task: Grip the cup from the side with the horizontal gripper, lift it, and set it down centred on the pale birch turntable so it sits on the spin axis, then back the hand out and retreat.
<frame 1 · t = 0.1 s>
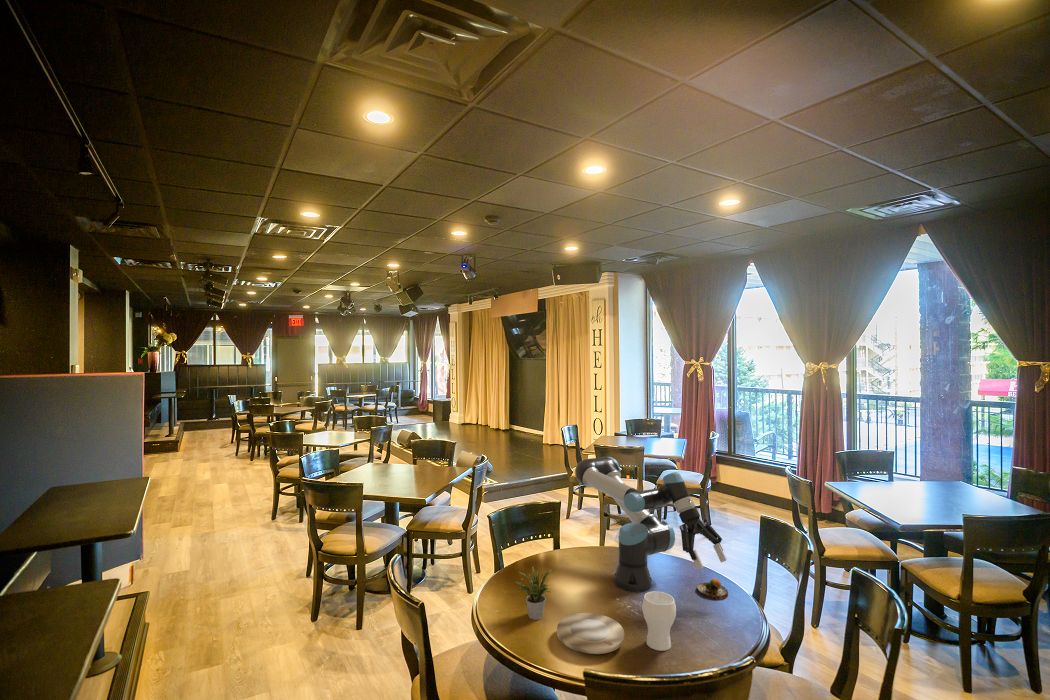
hand: (712, 565, 191), 15 cm above the table, tool tilted 35°, fingers open, 13 cm apart
cup: (658, 644, 165), on the table
house plant: (536, 614, 183), on the table
turntable base: (590, 640, 166), on the table
turntable platter: (590, 631, 166), point 3 cm above the table, hinge at 0.0°
plate of food: (712, 593, 202), on the table
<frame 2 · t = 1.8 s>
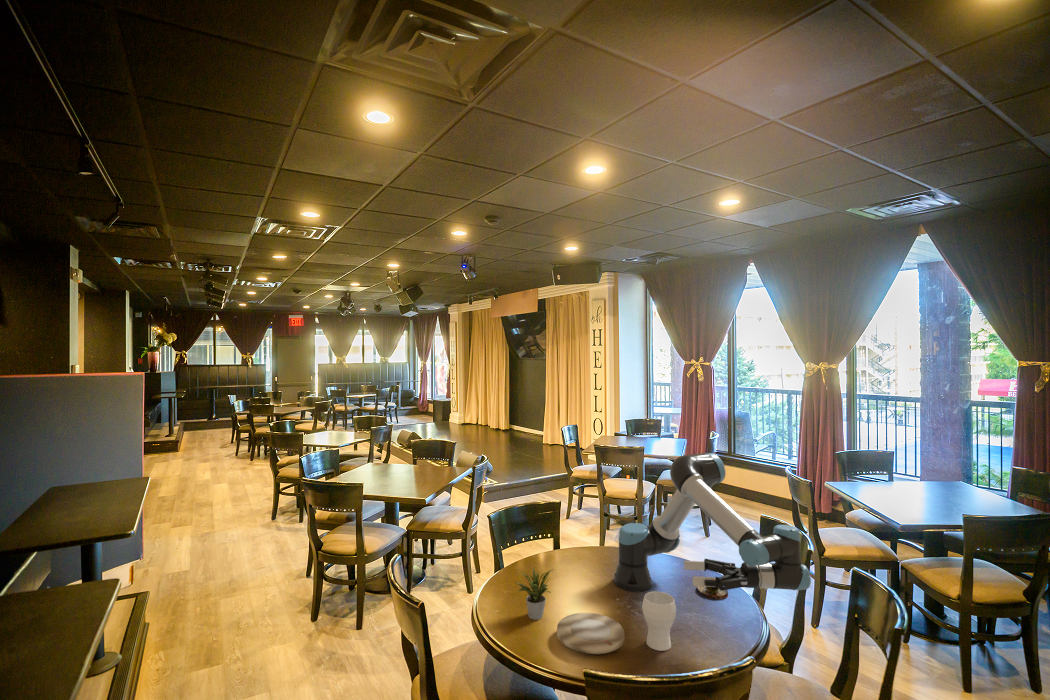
hand: (688, 572, 165), 23 cm above the table, tool horizontal, fingers open, 13 cm apart
nothing on the table moved.
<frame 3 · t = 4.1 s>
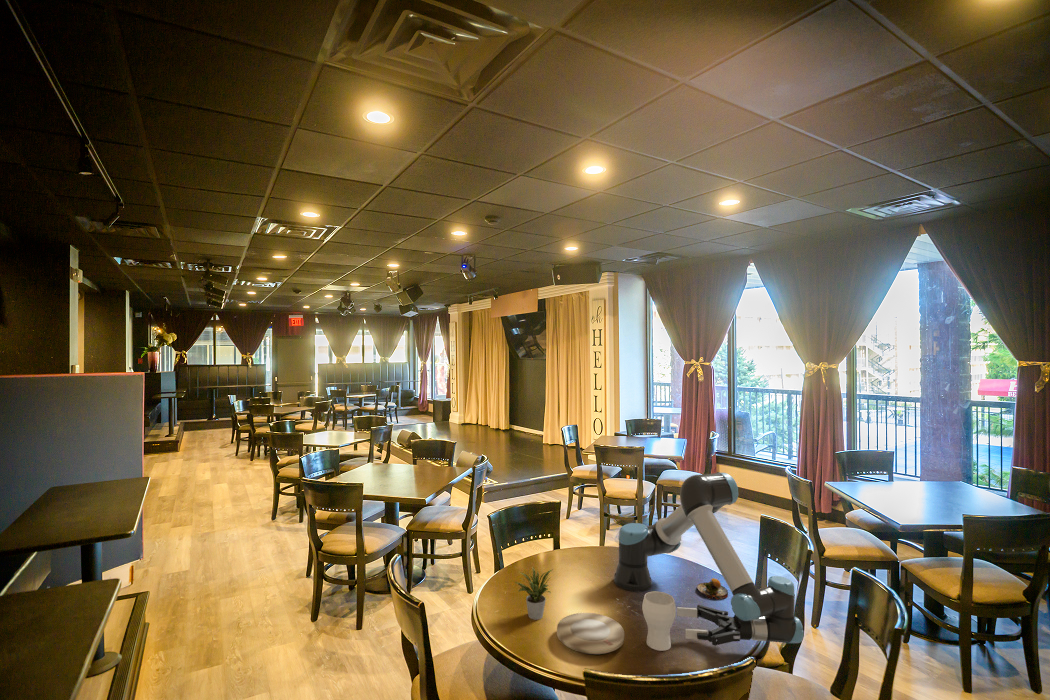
hand: (681, 622, 164), 8 cm above the table, tool horizontal, fingers open, 13 cm apart
nothing on the table moved.
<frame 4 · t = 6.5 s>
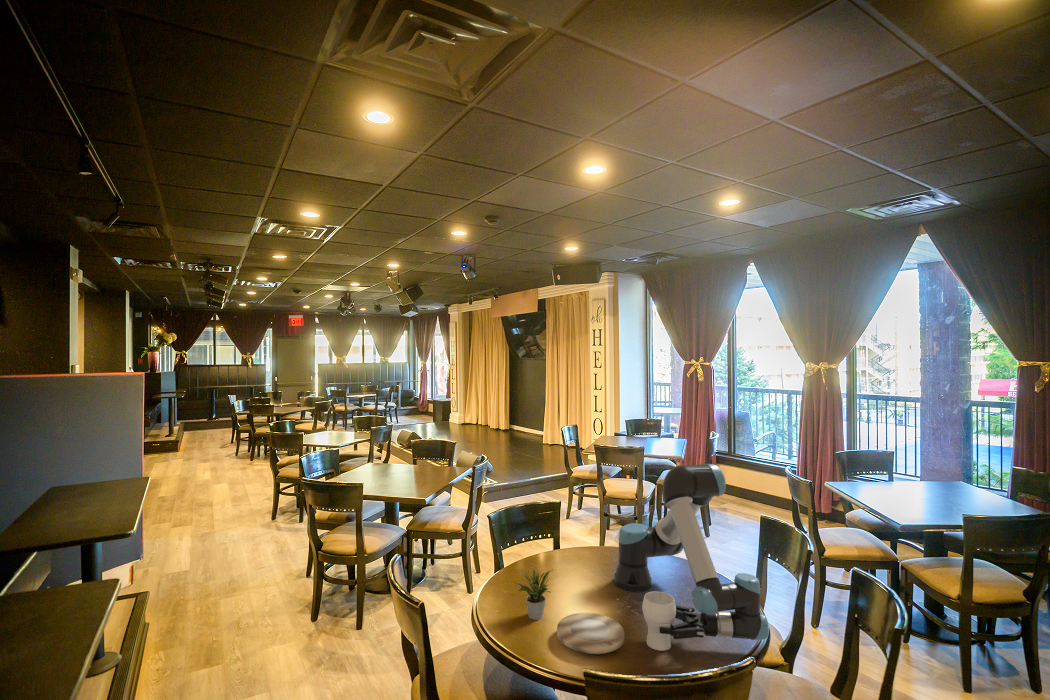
hand: (646, 618, 165), 8 cm above the table, tool horizontal, fingers closed on cup, 10 cm apart
cup: (658, 644, 165), on the table, touching gripper
everything else where it was.
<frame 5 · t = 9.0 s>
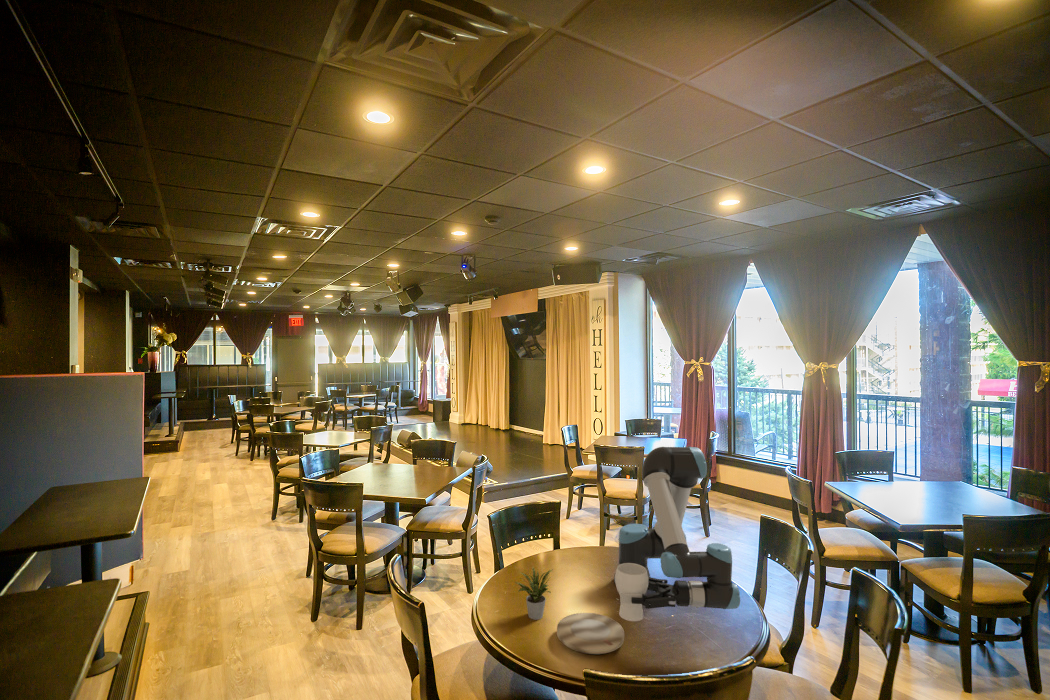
hand: (618, 589, 164), 18 cm above the table, tool horizontal, fingers closed on cup, 10 cm apart
cup: (631, 616, 164), point 10 cm above the table, touching gripper
everything else where it was.
when the fingers open (13 cm above the table, at t = 11.7 s): cup drops 1 cm, resting on turntable platter.
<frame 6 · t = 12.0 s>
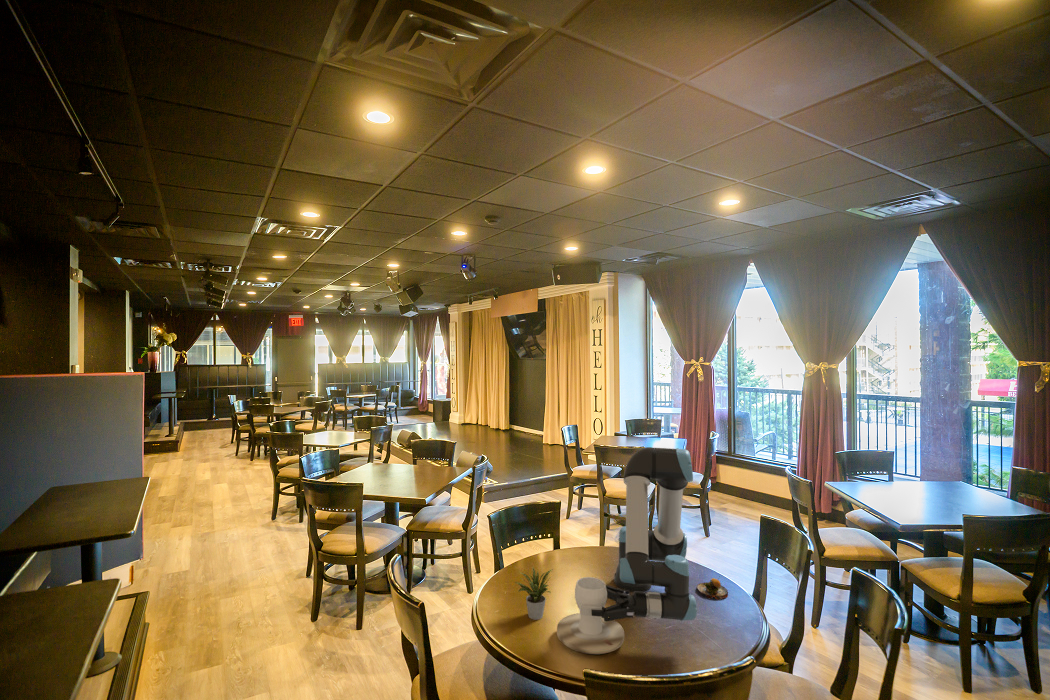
hand: (580, 600, 167), 13 cm above the table, tool horizontal, fingers open, 13 cm apart
cup: (590, 629, 167), point 3 cm above the table, touching turntable platter
turntable platter: (590, 631, 166), point 3 cm above the table, hinge at 0.0°, touching cup
everything else where it was.
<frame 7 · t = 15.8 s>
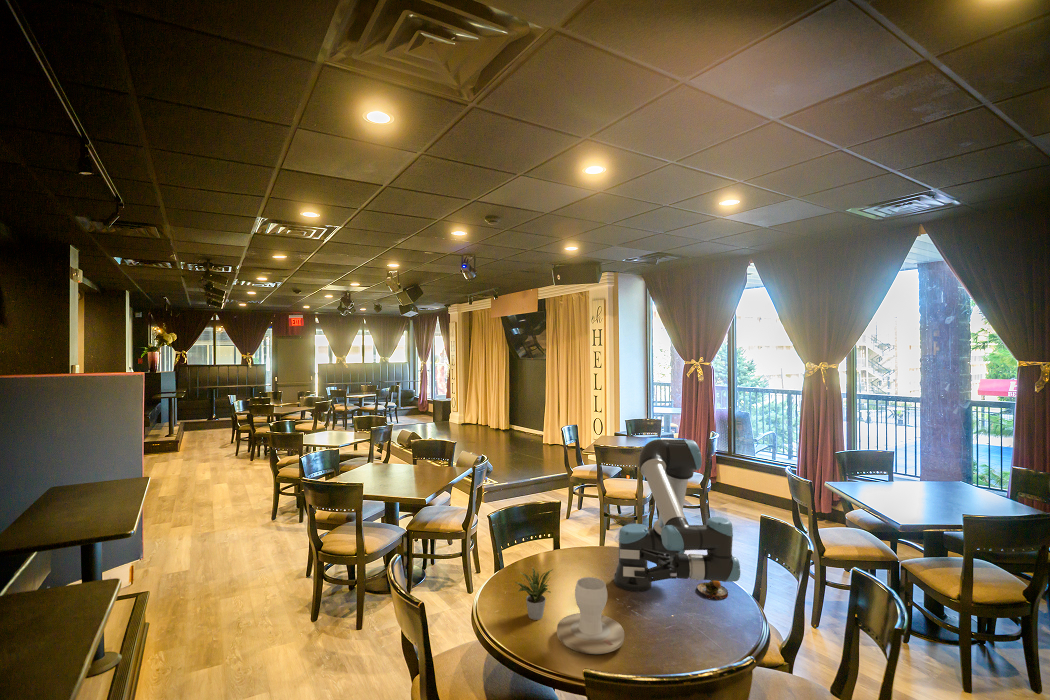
hand: (621, 562, 165), 26 cm above the table, tool horizontal, fingers open, 13 cm apart
nothing on the table moved.
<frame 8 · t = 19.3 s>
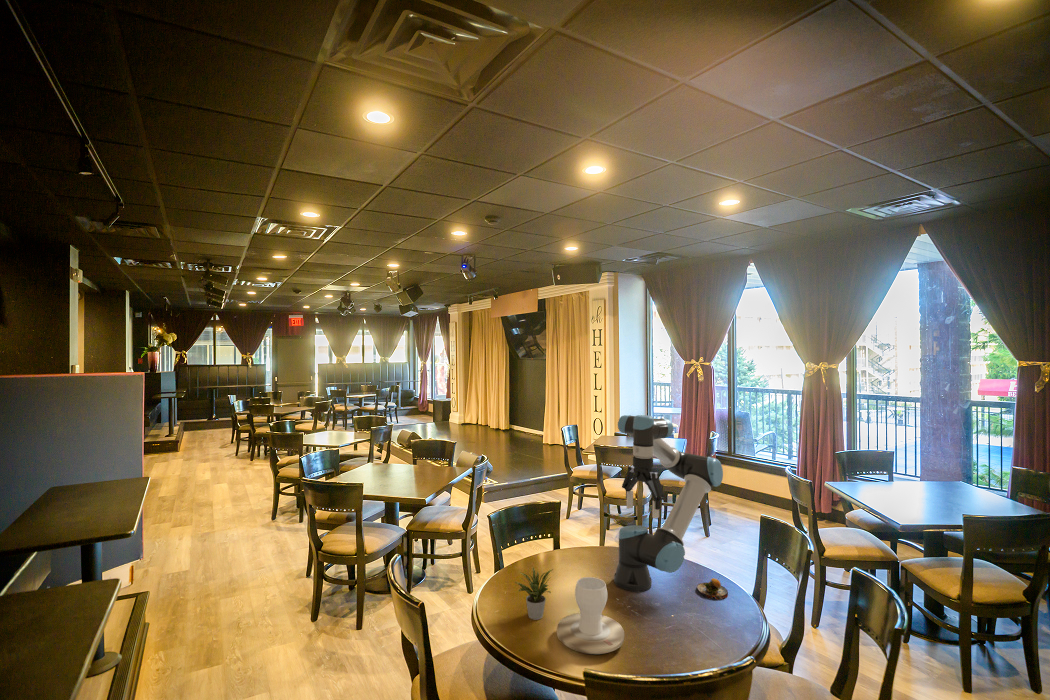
hand: (642, 512, 191), 35 cm above the table, tool pointing down, fingers open, 13 cm apart
nothing on the table moved.
at the end: cup 0.2 cm from the turntable platter (horizontally); cup touching turntable platter; cup tilted 0° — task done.
